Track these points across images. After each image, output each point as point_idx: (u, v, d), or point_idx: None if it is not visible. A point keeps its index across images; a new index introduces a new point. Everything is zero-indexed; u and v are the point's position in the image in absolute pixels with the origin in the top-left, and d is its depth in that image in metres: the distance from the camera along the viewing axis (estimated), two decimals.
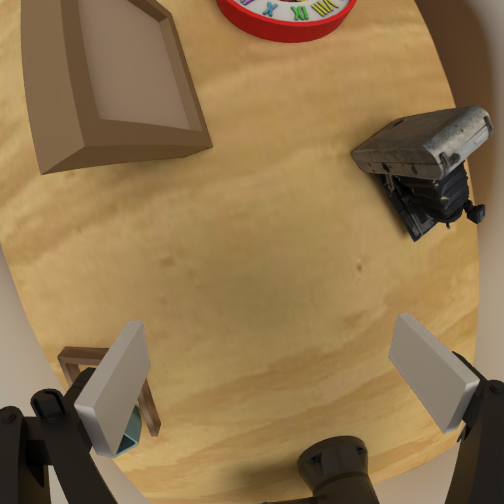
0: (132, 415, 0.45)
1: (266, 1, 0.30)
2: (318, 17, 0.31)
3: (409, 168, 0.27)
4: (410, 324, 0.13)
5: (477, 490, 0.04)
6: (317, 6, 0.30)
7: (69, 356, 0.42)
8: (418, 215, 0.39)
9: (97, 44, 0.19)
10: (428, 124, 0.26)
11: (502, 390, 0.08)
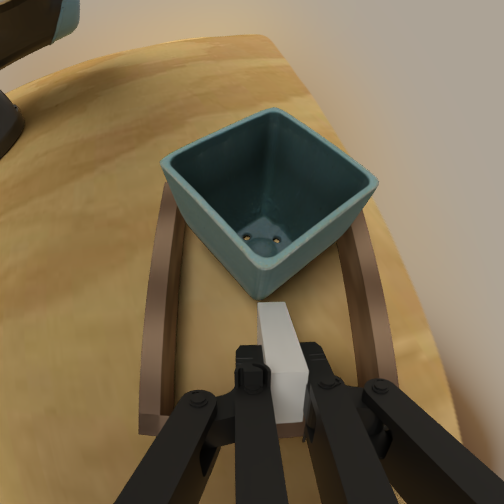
0: (201, 238, 0.19)
1: None
2: None
3: None
4: (275, 312, 0.16)
5: None
6: None
7: None
8: None
9: None
10: None
11: (336, 384, 0.10)
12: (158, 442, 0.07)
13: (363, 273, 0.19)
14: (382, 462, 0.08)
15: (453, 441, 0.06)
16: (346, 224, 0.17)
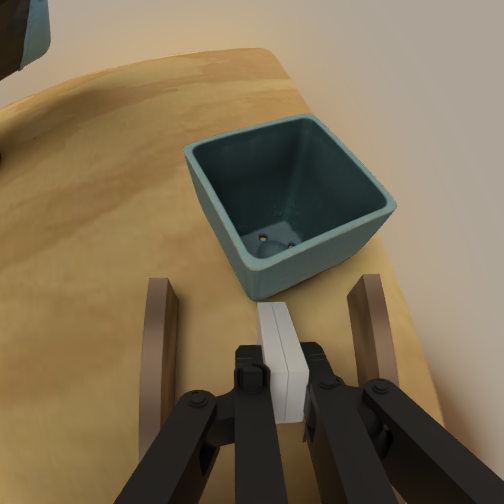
0: (213, 229, 0.20)
1: None
2: None
3: None
4: (275, 312, 0.16)
5: None
6: None
7: None
8: None
9: None
10: None
11: (336, 385, 0.10)
12: (158, 442, 0.07)
13: None
14: (382, 462, 0.08)
15: (453, 441, 0.06)
16: (356, 243, 0.17)
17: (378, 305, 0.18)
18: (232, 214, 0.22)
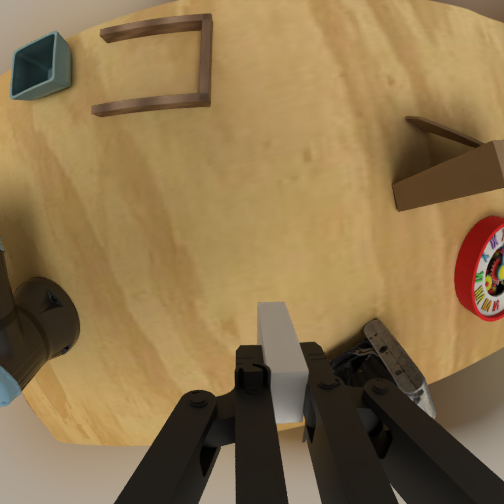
0: (40, 96, 0.35)
1: (489, 254, 0.44)
2: (473, 289, 0.45)
3: (397, 368, 0.37)
4: (275, 312, 0.16)
5: None
6: (480, 290, 0.45)
7: (210, 27, 0.35)
8: None
9: None
10: None
11: (335, 384, 0.10)
12: (158, 442, 0.07)
13: (146, 25, 0.34)
14: (382, 462, 0.08)
15: (452, 441, 0.06)
16: (63, 46, 0.31)
17: (112, 29, 0.34)
18: None
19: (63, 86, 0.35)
